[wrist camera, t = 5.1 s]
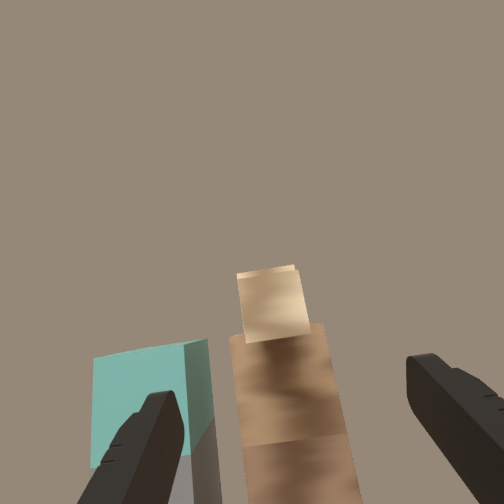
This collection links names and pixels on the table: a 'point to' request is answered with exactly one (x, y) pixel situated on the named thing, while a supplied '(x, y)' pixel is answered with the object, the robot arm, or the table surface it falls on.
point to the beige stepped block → (272, 304)
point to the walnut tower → (292, 422)
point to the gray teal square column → (189, 401)
